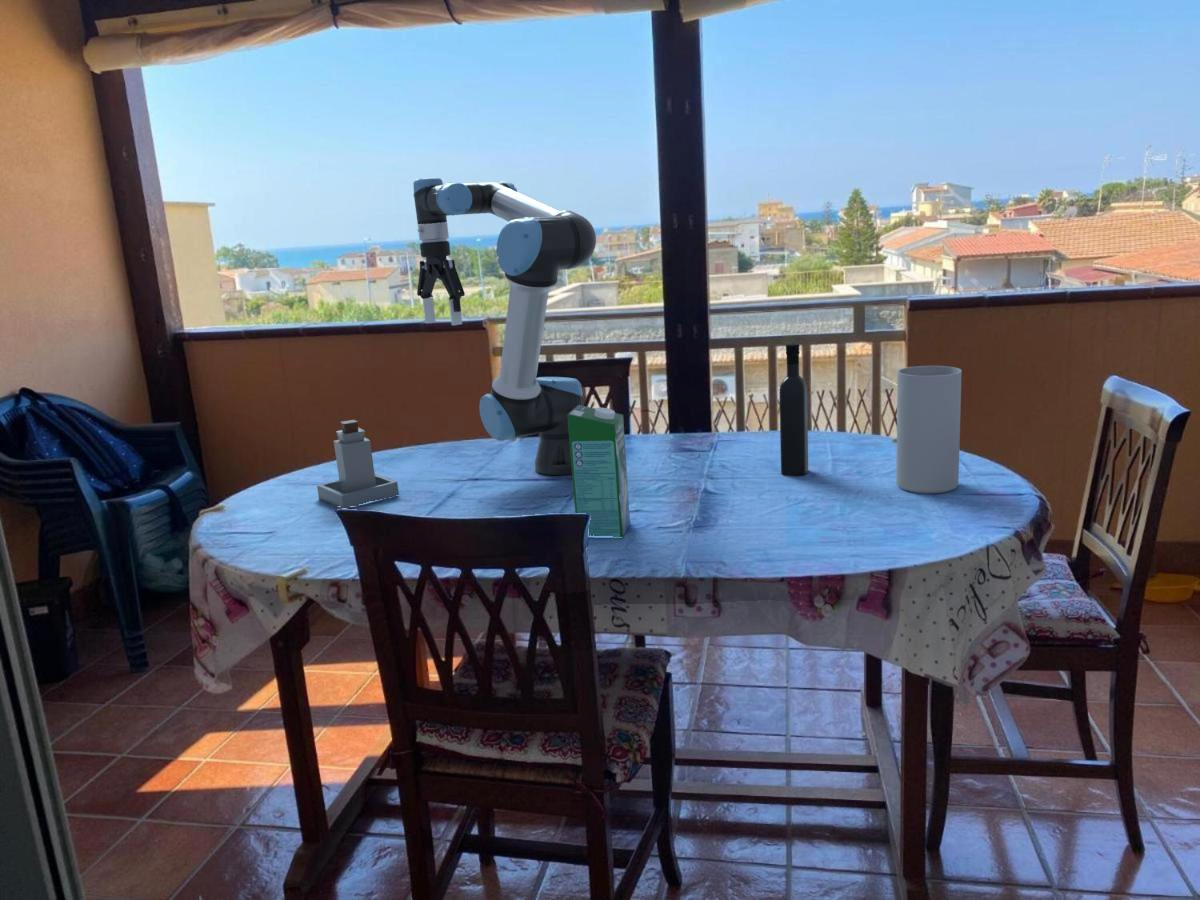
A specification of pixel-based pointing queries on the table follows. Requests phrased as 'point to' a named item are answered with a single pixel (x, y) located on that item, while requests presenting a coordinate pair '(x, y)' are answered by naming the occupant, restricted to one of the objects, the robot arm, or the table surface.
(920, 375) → the cylinder vase
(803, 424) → the wine bottle
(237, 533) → the table surface
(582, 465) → the milk carton
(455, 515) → the table surface
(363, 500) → the tray
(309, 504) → the table surface
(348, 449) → the perfume bottle
